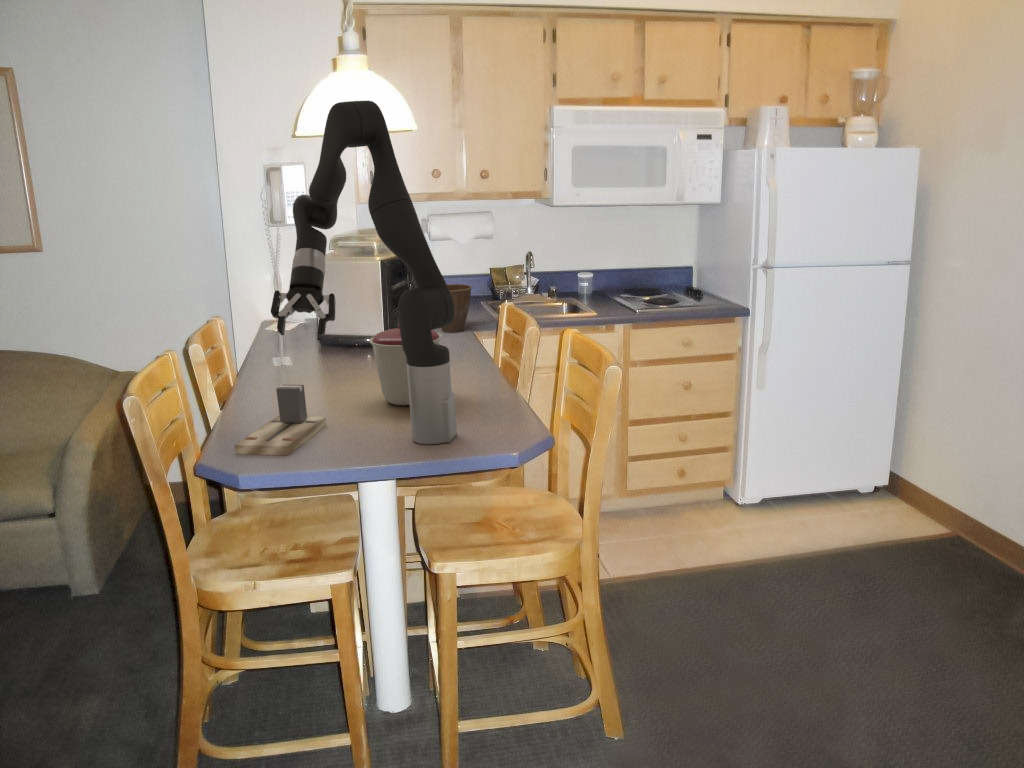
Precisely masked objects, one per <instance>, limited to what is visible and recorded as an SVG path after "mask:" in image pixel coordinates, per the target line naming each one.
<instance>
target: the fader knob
mask: <svg viewBox="0 0 1024 768" xmlns="http://www.w3.org/2000/svg"><path fill="white" fill-rule="evenodd" d="M275 389H276V397H277V407H278V416H280V422H288V423H301V422H303V421H304V420H305V419H307V417H308V410H307V403H306V402H307V401H306V393H305V386H304V384H282V385H279V386H278V387H277V388H275Z"/></svg>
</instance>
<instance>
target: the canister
mask: <svg viewBox="0 0 1024 768" xmlns="http://www.w3.org/2000/svg"><path fill="white" fill-rule="evenodd" d="M397 327H398V328H396V327H395V328H390V329H386V330H383V331H379V332H377V333H376V334H374V336H373V337H371V338H370V339H369V343H370V344H371V345H372V349H373V354H374V360H375V364H376V370H377V373H378V379H379V383H380V388H381V392H382V395H383V398H384V399H385V400H386V401H387V402H388V403H390V404H392V405H395V406H407V407H408V406H409V407H410V402H409V388H408V375H407V361H406V355H405V353H404V351H403V347H402V342H401V334H400V326H399V322H398V323H397ZM431 332H432V338H433V342H434V343H435V344H439V345H440V342H441V340H442V338H443V335H442V334H441V333H439V332H437V331H436V330H435V329H434V330H431Z"/></svg>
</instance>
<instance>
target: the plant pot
mask: <svg viewBox="0 0 1024 768" xmlns="http://www.w3.org/2000/svg"><path fill="white" fill-rule="evenodd" d="M447 286H448V288H449V290H450V293H451V295H452V298H453V301H454V306H455V316H454V319H453V321H452V322H451V324H449V325H448V326H445V327H442V328H441V331H442V332H443V333H448V334H450V333H451V334H454V333H461V332H462V331H464V327H465V325H466V321H467V319H468V313H469V308H470V302H471V294H472V293H471V292H472V286H471V285H468V284H458V283H455V284H452V283H451V284H447Z"/></svg>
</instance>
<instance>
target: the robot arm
mask: <svg viewBox="0 0 1024 768" xmlns="http://www.w3.org/2000/svg"><path fill="white" fill-rule="evenodd" d="M358 147H359V148H360V147H367V149H368V150H369V153H370V155H371V159H372V163H373V177H372V182H371V186H370V190H369V196H368V205H367V207H368V211H369V214H370V217H371V220H372V222H373V223H372V224H373V226H374V228H375V231H376V233H377V235H378V238H379V239H380V240H381V242H382V243H383V244H384V246H385V247H387V248H388V249H389V251H390V252H392V254H394V255H395V256H396V258H397V259H399V260H400V261H401V262H402V263H403V264H404V265H405V267H406V268H407V269H408V271H409V272H410V274H411V275H412V277H413V281H414V282H415V284H416V286H417V287H414V288H410V289H407V290H405V291H403V292H402V293H401V295H400V296H399V299H398V305H397V317H398V323H399V326H400V334H401V342H402V347H403V351H404V353H405V355H406V361H407V375H408V388H409V402H410V405H409V413H410V426H411V429H410V430H411V437H412V438H411V439H412V441H413V442H415V443H417V444H421V445H438V444H443V443H444V444H445V443H451V442H452V441H453V439H454V438H455V437H456V435H457V434H458V429H457V428H458V427H457V416H456V415H457V414H456V413H457V412H456V396H455V393H454V392H452V376H451V358H450V350H449V348H448V347H447V346H446V345H443V344H440V343H439V344H435V343H434V342H433V338H432V332H431V330H434V331H435V330H436V329H437V330H438V329H442V327H445V326H448V325H449V324H451V322H452V321H453V319H454V316H455V306H454V301H453V298H452V295H451V293H450V290H449V288H448V286H447V285H448V284H447V282H446V281H445V279H444V276H443V274H442V272H441V270H440V269H439V266H438V264H437V263H436V260H435V258H434V256H433V254H432V251H431V248H430V247H429V244H428V241H427V238H426V236H425V234H424V231H423V227H422V226H421V223H420V220H419V217H418V214H417V211H416V209H415V206H414V203H413V200H412V198H411V196H410V194H409V191H408V188H407V186H406V184H405V182H404V181H405V180H404V179H403V176H402V174H401V171H400V167H399V165H398V161H397V158H396V154H395V151H394V150H395V149H394V148H393V144H392V140H391V136H390V133H389V130H388V125H387V122H386V120H385V117H384V114H383V111H382V110H381V107H380V106H379V105H378V104H377V103H376V102H375V101H373V100H352V101H341V102H336V103H335V104H333V105H332V106H331V108H330V110H329V111H328V113H327V117H326V121H325V126H324V132H323V137H322V144H321V149H320V154H319V156H320V157H319V161H318V165H317V168H316V171H315V173H314V175H313V177H312V179H311V182H310V185H309V188H308V194H300V195H299V196H297V197H296V198H295V199H294V202H293V204H292V218H293V222H294V225H295V231H296V232H295V233H296V234H295V235H296V243H295V250H294V255H293V259H292V265H291V266H292V267H291V273H290V281H289V289H288V291H287V292H280V291H279V290H275V291H274V293H273V297H272V304H271V307H270V314H271V316H272V318H274V319H277V326H276V329H277V332H278V333H279V334H280V336H285V331H286V323H287V321H286V320H287V318H289V317H290V316H292V315H293V314H294V313H295V312H297V313H307V314H311V313H313V312H314V313H315V314H316V316H317V318H319V319H318V327H317V337H318V338H322V337H323V336H324V335H325V334H326V328H327V322H330V321H331V322H334V321H335V320H336V297H335V294H334V293H329V294H328V295H327V294H323V291H324V282H325V281H324V280H325V274H326V252H327V246H328V245H327V243H328V240H327V236H326V235H325V233H323V232H322V231H320V230H330V229H332V228H333V227H334V226H335V225H336V223H337V219H338V201H339V198H340V196H341V194H342V191H343V190H344V187H345V185H346V183H347V170H346V167H345V164H344V162H343V160H342V157H341V156H342V154H343V152H345V149H347V148H358ZM319 229H320V230H319ZM285 299H287V303H286V304H285V305H284V307H283V308H282V309H281V303H283V302H284V301H285ZM324 301H325V302H326V304H327V306H328V313H325V312H324V311H323V310H322V309H321V307H320V306H321V304H322V303H324Z"/></svg>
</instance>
